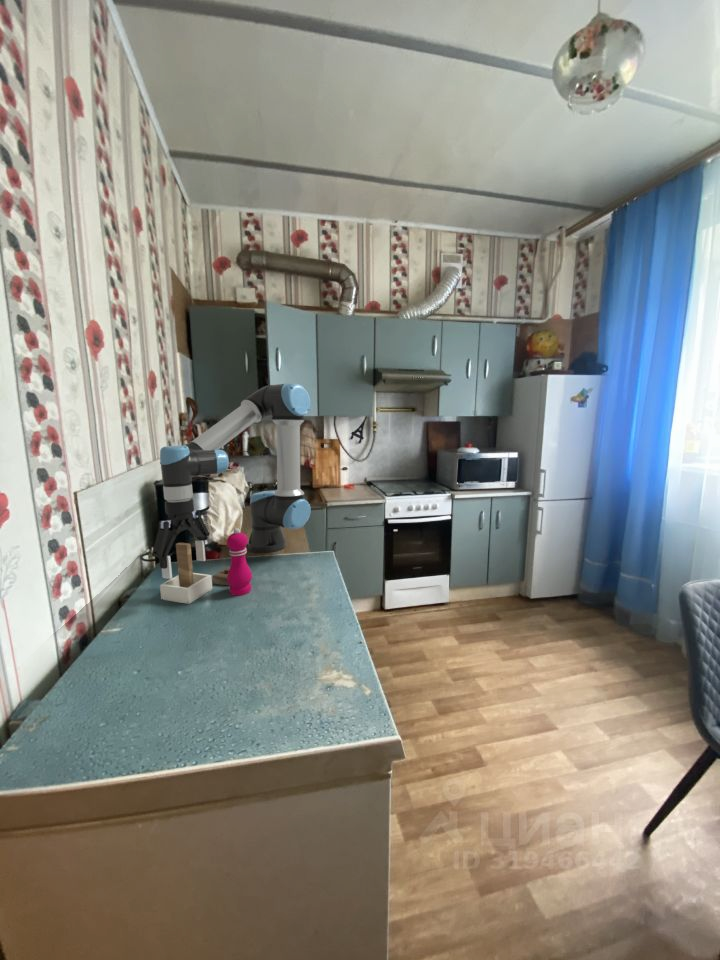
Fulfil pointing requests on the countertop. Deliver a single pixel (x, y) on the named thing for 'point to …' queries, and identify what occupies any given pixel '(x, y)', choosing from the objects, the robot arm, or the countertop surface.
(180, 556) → the brown wooden block
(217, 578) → the holder
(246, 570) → the pepper mill
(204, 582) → the white storage tray
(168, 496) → the robot arm
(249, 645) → the countertop surface
